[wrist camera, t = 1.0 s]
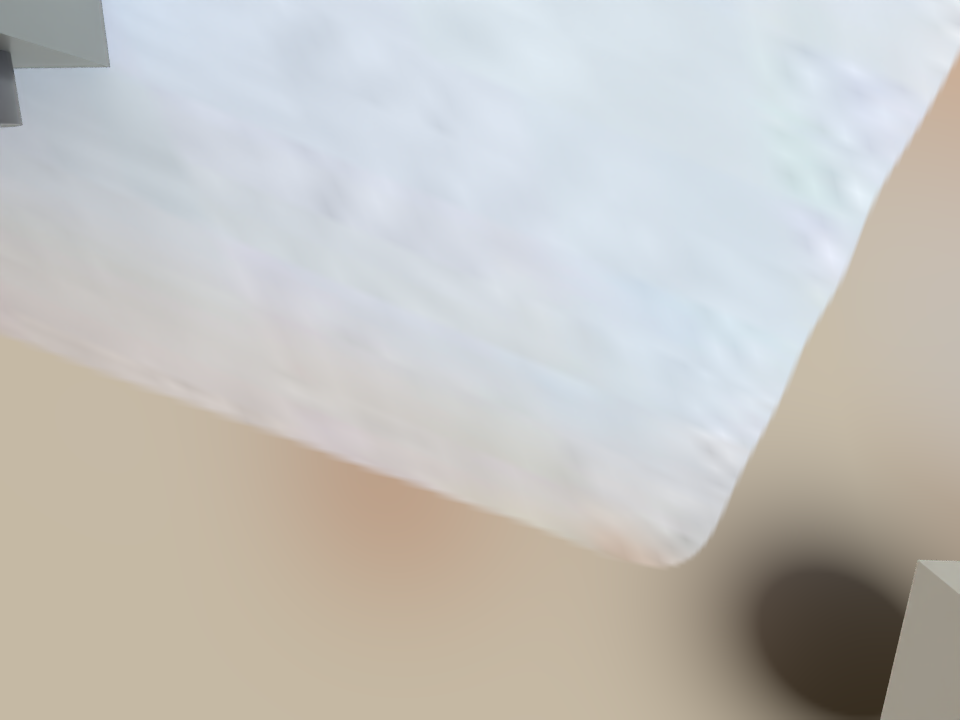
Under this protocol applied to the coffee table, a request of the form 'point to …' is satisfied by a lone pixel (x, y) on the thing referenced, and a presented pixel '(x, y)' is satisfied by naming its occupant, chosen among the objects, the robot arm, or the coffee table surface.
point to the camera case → (47, 42)
